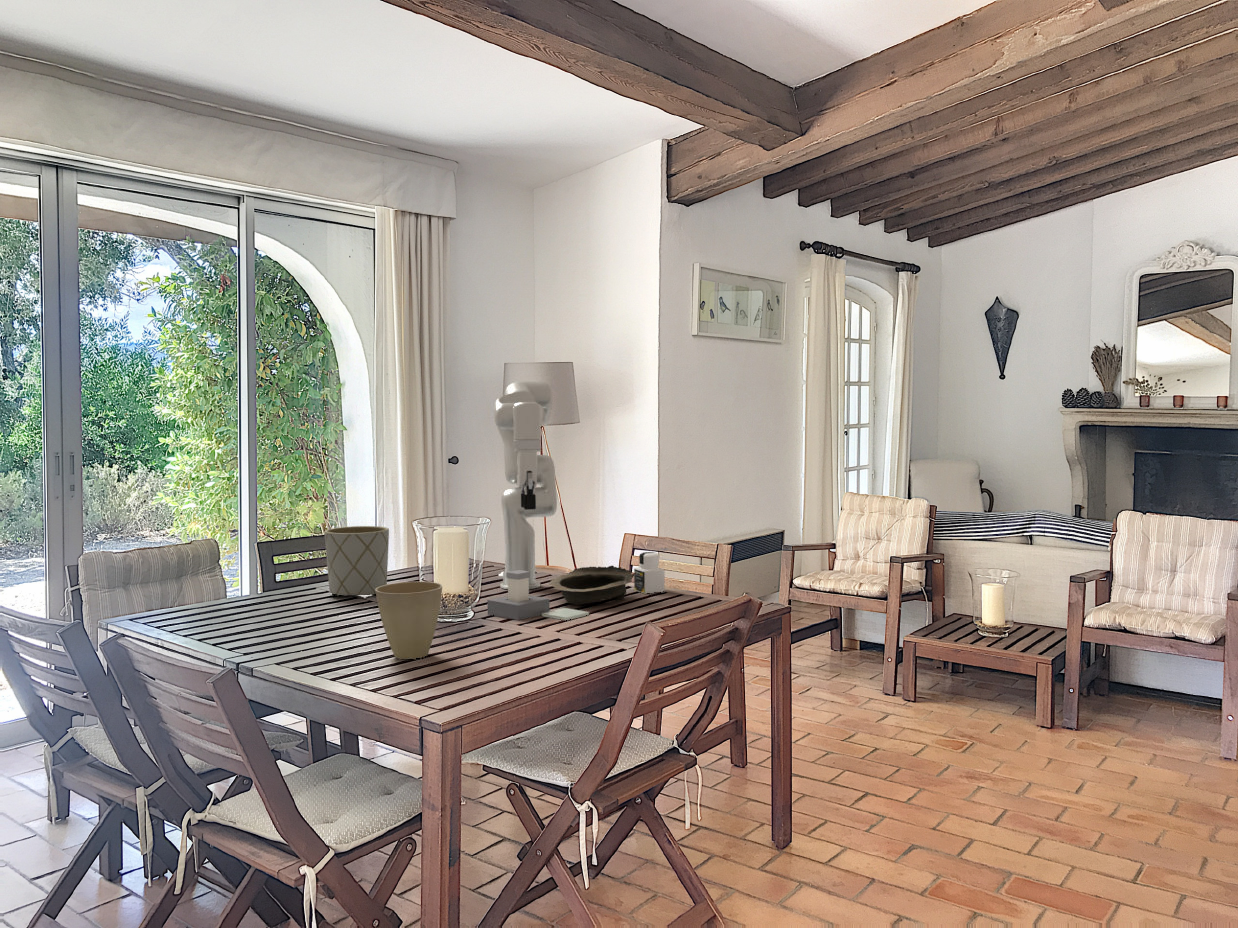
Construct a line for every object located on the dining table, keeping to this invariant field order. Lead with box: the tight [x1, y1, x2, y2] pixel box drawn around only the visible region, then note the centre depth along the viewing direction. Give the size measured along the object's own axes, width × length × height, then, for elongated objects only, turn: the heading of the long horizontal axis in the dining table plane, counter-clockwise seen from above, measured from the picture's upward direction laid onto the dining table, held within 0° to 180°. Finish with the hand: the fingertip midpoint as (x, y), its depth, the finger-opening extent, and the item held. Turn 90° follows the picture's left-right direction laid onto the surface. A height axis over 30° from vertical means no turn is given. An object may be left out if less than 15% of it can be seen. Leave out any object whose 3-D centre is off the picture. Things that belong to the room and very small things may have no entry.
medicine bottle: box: [633, 551, 666, 595], centre depth 298 cm, size 7×7×12 cm
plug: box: [506, 570, 530, 602], centre depth 266 cm, size 5×5×12 cm
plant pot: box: [375, 581, 443, 660], centre depth 220 cm, size 15×15×16 cm
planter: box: [323, 525, 390, 597], centre depth 297 cm, size 19×19×20 cm
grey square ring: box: [486, 594, 550, 621], centre depth 266 cm, size 12×12×4 cm
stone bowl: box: [549, 565, 635, 606], centre depth 283 cm, size 25×25×9 cm
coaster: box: [541, 607, 590, 621], centre depth 263 cm, size 9×9×1 cm
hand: (528, 508), depth 269 cm, fingers open, 9 cm apart
